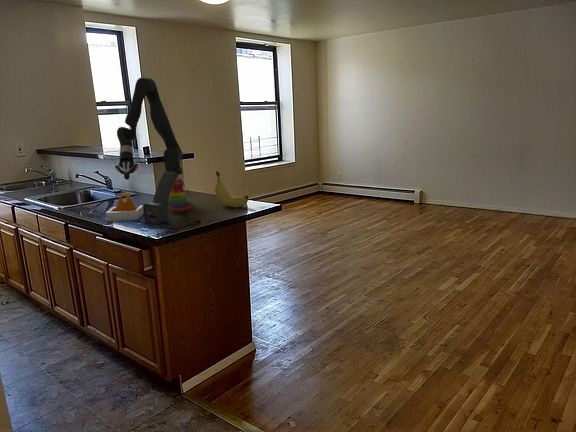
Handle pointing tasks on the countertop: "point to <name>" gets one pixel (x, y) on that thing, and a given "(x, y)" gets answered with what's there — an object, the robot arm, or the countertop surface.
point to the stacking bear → (178, 197)
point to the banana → (228, 195)
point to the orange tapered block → (125, 203)
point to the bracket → (124, 214)
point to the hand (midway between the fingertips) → (126, 178)
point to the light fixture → (160, 200)
